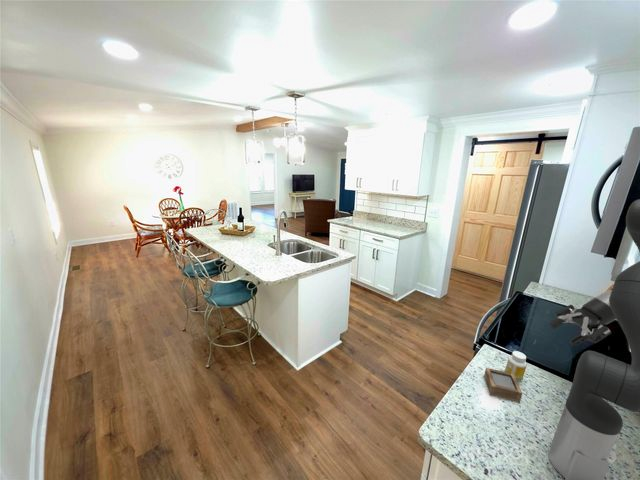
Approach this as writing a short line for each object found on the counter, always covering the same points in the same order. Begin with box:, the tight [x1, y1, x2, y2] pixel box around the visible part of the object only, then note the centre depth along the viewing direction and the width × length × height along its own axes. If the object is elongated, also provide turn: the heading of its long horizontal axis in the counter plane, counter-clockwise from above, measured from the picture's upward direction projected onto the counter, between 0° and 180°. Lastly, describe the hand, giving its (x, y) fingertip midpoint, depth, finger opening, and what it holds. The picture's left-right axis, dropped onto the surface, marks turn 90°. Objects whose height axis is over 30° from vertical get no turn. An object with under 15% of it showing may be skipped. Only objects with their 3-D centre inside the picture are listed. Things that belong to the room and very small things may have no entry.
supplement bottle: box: [504, 350, 528, 383], centre depth 94 cm, size 5×5×10 cm
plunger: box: [491, 373, 515, 389], centre depth 89 cm, size 6×6×1 cm
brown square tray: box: [483, 367, 523, 404], centre depth 89 cm, size 8×8×4 cm
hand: (560, 334), depth 89 cm, fingers open, 8 cm apart
